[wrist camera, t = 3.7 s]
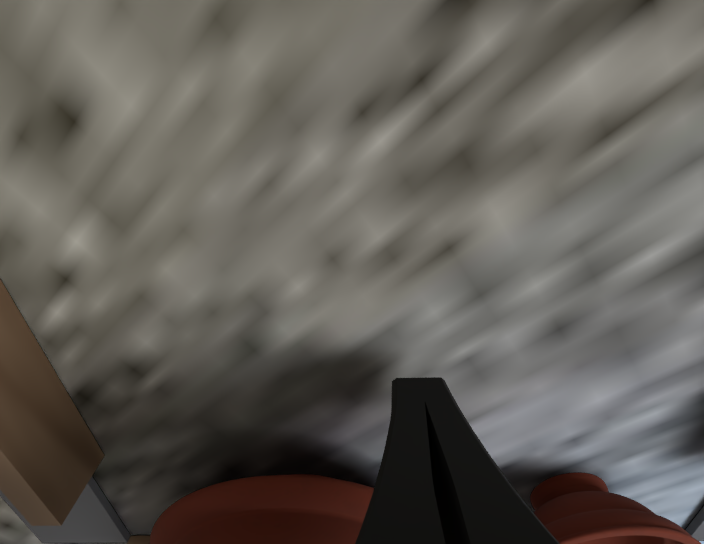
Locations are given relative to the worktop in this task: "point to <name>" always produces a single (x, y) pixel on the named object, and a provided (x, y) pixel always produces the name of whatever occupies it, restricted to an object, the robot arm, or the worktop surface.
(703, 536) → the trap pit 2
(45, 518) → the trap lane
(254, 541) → the pottery
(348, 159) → the worktop surface
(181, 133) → the worktop surface
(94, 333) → the worktop surface
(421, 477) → the robot arm
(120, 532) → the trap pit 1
